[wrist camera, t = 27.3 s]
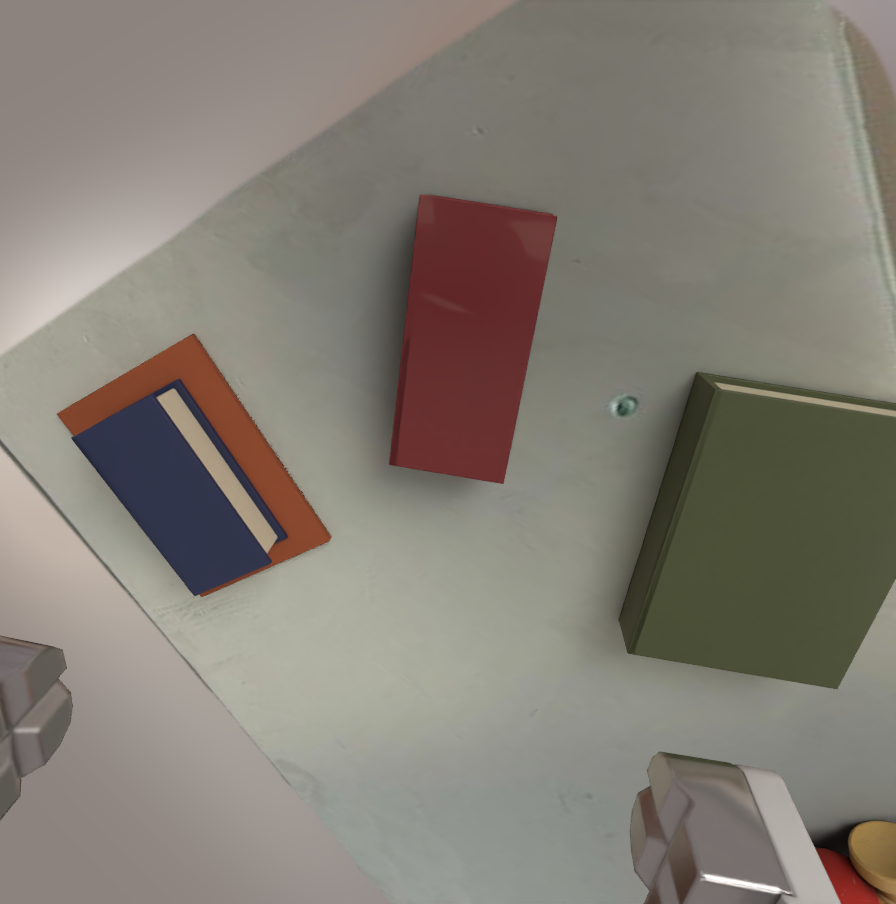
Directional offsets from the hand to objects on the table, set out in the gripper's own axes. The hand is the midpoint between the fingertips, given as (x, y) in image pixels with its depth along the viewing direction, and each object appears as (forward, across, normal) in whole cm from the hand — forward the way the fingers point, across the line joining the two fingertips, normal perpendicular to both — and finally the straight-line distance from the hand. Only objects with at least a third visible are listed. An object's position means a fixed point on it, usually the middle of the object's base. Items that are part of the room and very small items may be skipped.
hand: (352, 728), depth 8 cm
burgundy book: (+25, 0, 0) cm, 25 cm away
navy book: (+24, +14, +11) cm, 30 cm away
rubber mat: (+25, +14, +11) cm, 31 cm away
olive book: (+25, -18, +8) cm, 32 cm away
